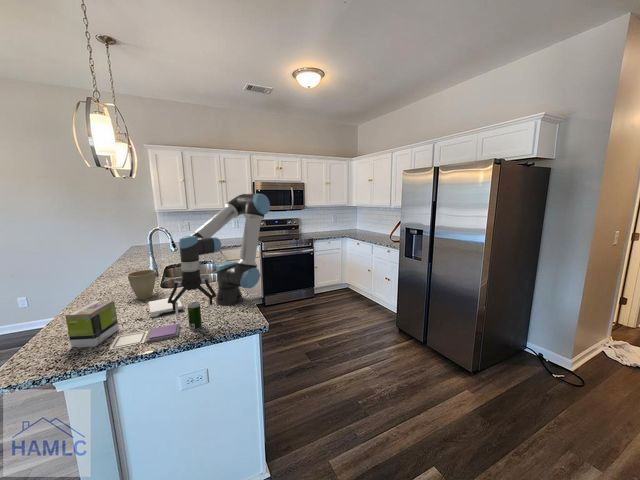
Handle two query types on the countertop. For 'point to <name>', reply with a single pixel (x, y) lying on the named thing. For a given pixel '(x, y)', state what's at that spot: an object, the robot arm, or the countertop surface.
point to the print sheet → (129, 340)
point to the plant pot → (142, 283)
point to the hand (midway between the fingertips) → (193, 314)
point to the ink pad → (163, 333)
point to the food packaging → (162, 306)
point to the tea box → (92, 323)
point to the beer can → (194, 316)
